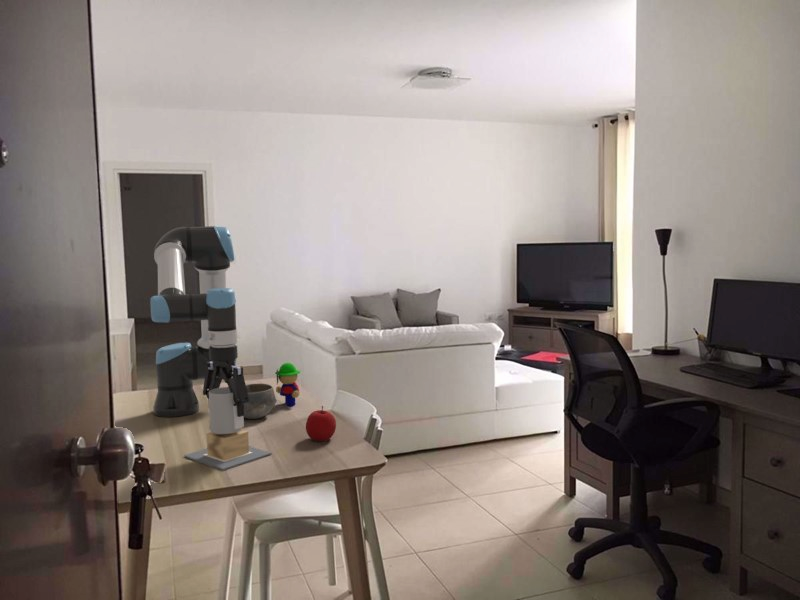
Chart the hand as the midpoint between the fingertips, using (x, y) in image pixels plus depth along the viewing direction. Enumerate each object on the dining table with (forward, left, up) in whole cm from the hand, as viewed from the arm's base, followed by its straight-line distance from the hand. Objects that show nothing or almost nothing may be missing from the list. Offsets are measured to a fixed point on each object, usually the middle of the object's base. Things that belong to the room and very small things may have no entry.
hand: (226, 424), depth 191 cm
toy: (-30, +48, -9) cm, 57 cm away
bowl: (-26, +30, -9) cm, 41 cm away
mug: (0, 0, -1) cm, 1 cm away
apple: (+10, +26, -9) cm, 29 cm away
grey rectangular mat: (0, 0, -9) cm, 9 cm away
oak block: (0, 0, -8) cm, 8 cm away
